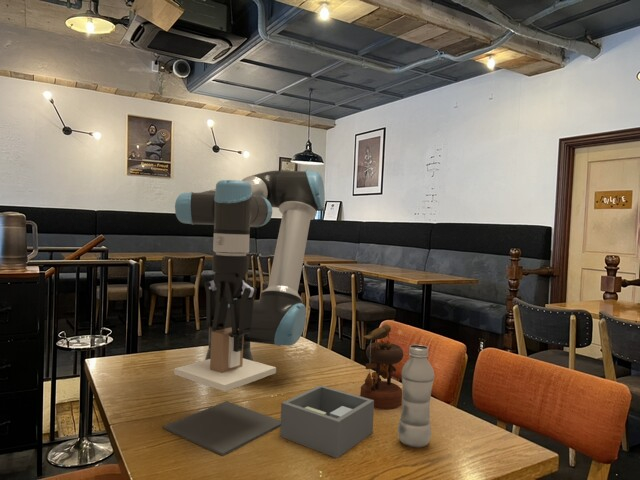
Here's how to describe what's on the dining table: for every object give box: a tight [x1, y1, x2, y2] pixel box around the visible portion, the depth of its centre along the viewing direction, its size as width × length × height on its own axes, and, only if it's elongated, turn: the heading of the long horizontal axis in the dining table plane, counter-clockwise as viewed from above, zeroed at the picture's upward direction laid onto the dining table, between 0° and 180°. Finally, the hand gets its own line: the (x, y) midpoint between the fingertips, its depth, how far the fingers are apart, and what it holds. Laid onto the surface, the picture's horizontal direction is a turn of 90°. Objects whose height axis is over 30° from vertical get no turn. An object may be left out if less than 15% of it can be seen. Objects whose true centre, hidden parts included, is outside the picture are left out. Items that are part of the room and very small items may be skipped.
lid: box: [173, 327, 277, 393], centre depth 98 cm, size 15×15×10 cm
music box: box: [359, 323, 404, 410], centre depth 117 cm, size 15×11×20 cm
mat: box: [162, 400, 281, 457], centre depth 98 cm, size 18×18×1 cm
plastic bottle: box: [397, 344, 435, 448], centre depth 94 cm, size 6×7×20 cm
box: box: [279, 384, 375, 459], centre depth 96 cm, size 14×14×7 cm
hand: (226, 363), depth 98 cm, fingers closed on lid, 3 cm apart
